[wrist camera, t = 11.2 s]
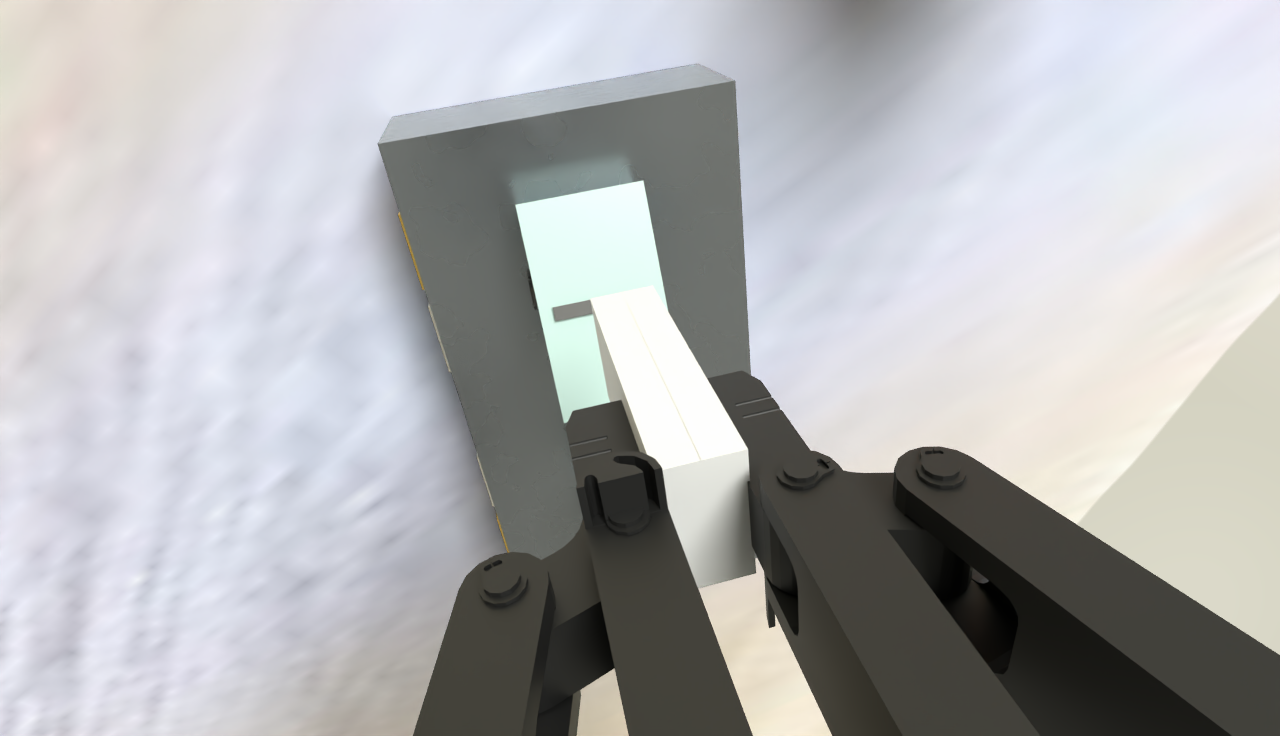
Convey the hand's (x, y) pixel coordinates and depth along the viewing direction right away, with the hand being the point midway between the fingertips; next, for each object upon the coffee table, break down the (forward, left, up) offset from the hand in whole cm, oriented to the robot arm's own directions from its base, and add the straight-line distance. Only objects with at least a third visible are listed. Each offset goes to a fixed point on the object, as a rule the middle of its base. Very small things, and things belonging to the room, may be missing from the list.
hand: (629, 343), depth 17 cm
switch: (0, -3, -9) cm, 10 cm away
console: (0, -9, -17) cm, 19 cm away
